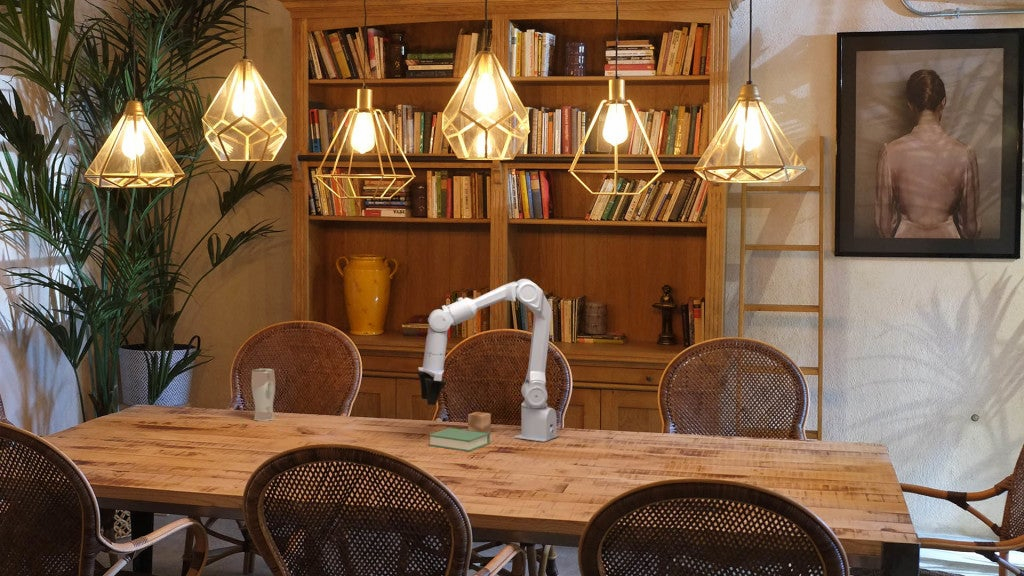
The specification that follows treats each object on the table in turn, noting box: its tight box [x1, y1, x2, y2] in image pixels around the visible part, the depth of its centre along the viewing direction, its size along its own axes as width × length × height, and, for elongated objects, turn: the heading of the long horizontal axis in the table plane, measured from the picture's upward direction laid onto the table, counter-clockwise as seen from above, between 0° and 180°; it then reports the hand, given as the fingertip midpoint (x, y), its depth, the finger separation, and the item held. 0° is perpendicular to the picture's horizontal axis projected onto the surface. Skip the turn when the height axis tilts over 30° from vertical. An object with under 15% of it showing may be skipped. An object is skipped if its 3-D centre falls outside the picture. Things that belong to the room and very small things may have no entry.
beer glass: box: [251, 368, 276, 422], centre depth 316 cm, size 7×7×15 cm
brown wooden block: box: [467, 411, 492, 435], centre depth 296 cm, size 5×5×6 cm
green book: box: [428, 427, 491, 453], centre depth 284 cm, size 13×10×3 cm
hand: (428, 401), depth 289 cm, fingers open, 7 cm apart
